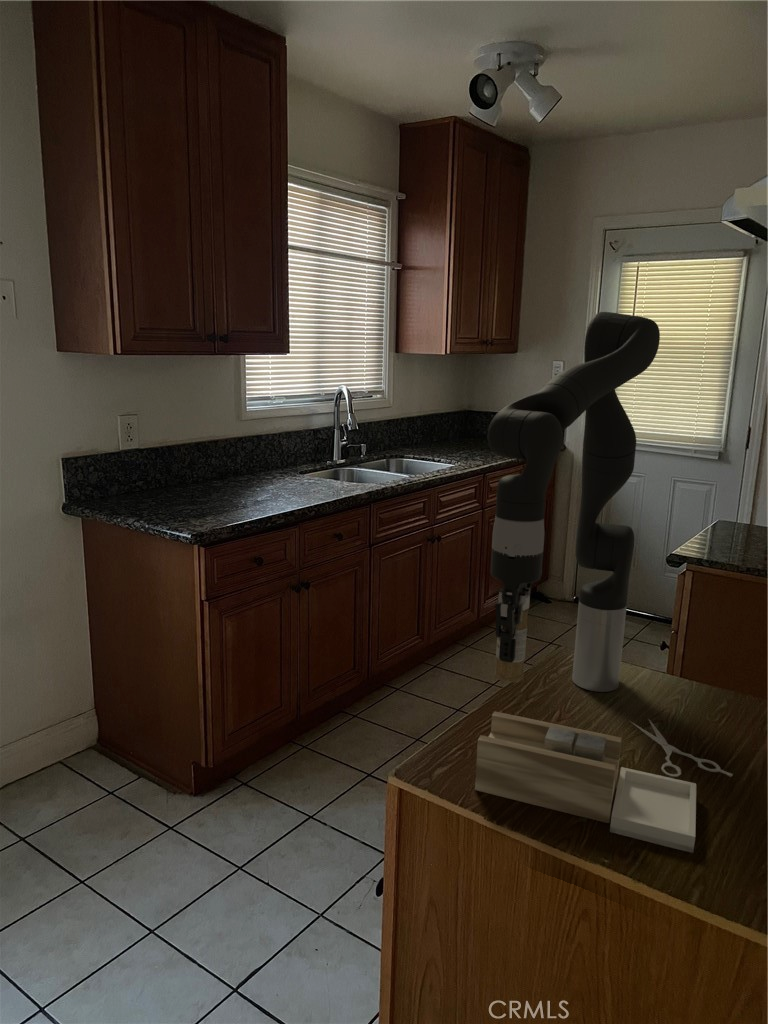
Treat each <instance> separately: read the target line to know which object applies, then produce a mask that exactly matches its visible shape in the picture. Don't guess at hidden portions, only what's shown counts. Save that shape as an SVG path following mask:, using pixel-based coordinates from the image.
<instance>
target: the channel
mask: <svg viewBox="0 0 768 1024" xmlns="http://www.w3.org/2000/svg"><path fill="white" fill-rule="evenodd" d="M550 726H552V727H556V728H561V729H566V730H571V731H575V732H576V739H575V744H576V741H577V738H578V735H579V732H580V733H585V734H590V735H594V736H599V737H604V738H606V748H605V758H604V762H600V761H595V760H591V759H586V758H582V757H577V756H572V755H568V754H563V753H559V752H554V751H550V750H545V749H544V744H545V737H546V734H547V732H548V729H549V727H550ZM621 747H622V737H619V736H615V735H611V734H605V733H600V732H595V731H591V730H587V729H581V728H576V727H572V726H567V725H562V724H557V723H553V722H552V723H551V722H548V721H543V720H538V719H534V718H528V717H524V716H519V715H513V714H509V713H505V712H500V711H493V713H492V714H491V727H490V733H489V735H488V736H487V735H482V734H480V735H479V737H478V739H477V747H476V748H477V749H476V762H475V763H476V764H475V767H476V768H475V780H474V781H475V783H474V790H475V791H478V792H482V793H487V794H489V795H494V796H498V797H502V798H506V799H510V800H514V801H517V802H522V803H525V804H530V805H533V806H538V807H542V808H546V809H548V810H549V809H550V810H554V811H558V812H563V813H566V814H570V815H573V816H578V817H581V818H586V819H591V820H594V821H597V822H598V821H599V822H601V823H607V824H610V823H611V816H612V811H613V806H614V801H615V796H616V791H617V786H618V778H619V776H618V775H619V768H620V767H619V766H620V765H619V764H620V756H621ZM574 755H575V750H574Z"/></svg>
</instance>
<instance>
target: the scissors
mask: <svg viewBox="0 0 768 1024" xmlns="http://www.w3.org/2000/svg"><path fill="white" fill-rule="evenodd" d="M648 721H649V724H650V726H651V728H652V730H653V731H654V734H655V735H654V734H652V733H651V732H649V731H647V730H646V729H643V728H642V727H641V726H639V725H637V724H636V723H634V722H632V721H631V720H629V722H630V723H631V724H632V725H634V726H635V727H636V728H638V729H639V730H640V731H641V732H643V734H645V735H646V736H648V737H649V738H650V739H652V741H654V742H656V743H657V744H659V745H660V746H661V747H662V750H664V752H665V754H666V756H665V757H664V759H665V761H666V762H665V763H663V764H662V766H661V772H662V773H663V774H665V775H667V776H668V777H671V778H679V777H680V776H681V775H682V770H681V768H680V766H677V765H675V764H673V763H672V761H671V760H670V757H671V755H672V753H675V754H678V755H682V756H685V757H688V758H690V759H692V760H693V761H695V762H696V763H697V767H698V768H700V769H702V770H705V771H708V772H711V773H721V774H723V775H726V776H728V777H730V778H731V777H733V773H731V772H729V771H726V770H723V769H721V767H720V765H719V764H718V763H716V762H715V761H713V760H710V759H705V758H699V757H697V756H696V757H695V756H694V755H692V754H690V753H686V752H683V751H681V750H680V749H678V748H677V747H675V746H673V745H671V744H669V743H668V742H667V740H666V739H665V737H664V736H663V735H662V734H661V732H660V730H658V728H657V727H656V726H655V724H654V723H653V722H652V721H651V720H650V719H648ZM702 763H707V764H710V765H713V767H715V768H709V767H706V766H704V764H702ZM666 767H671V768H674V769H675V771H676V772H677V773H670V772H667V771H666V770H665V768H666Z"/></svg>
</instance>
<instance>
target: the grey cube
mask: <svg viewBox="0 0 768 1024" xmlns="http://www.w3.org/2000/svg"><path fill="white" fill-rule="evenodd" d="M575 739H576V732H575V731H571V730H566V729H561V728H556V727H552V726H550V727H549V729H548V732H547V734H546V737H545V744H544V749H545V750H550V751H554V752H559V753H563V754H568V755H572V756H574V750H575Z"/></svg>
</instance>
